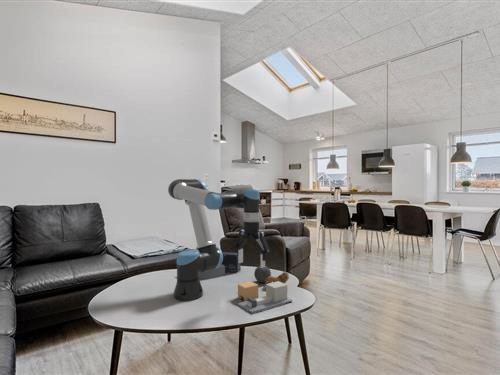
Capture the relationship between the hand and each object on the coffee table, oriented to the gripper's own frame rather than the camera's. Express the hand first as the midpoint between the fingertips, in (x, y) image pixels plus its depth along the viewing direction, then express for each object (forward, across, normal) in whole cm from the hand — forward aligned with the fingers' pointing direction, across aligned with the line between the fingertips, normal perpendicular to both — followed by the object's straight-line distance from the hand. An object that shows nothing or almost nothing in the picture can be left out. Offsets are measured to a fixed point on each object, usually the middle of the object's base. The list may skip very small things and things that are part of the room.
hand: (251, 264), depth 142 cm
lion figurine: (+20, -3, +28) cm, 34 cm away
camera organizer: (+20, -54, +19) cm, 61 cm away
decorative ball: (+20, -16, +31) cm, 40 cm away
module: (+20, -7, +6) cm, 22 cm away
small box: (+20, -47, +37) cm, 63 cm away
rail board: (+19, +5, +5) cm, 21 cm away
